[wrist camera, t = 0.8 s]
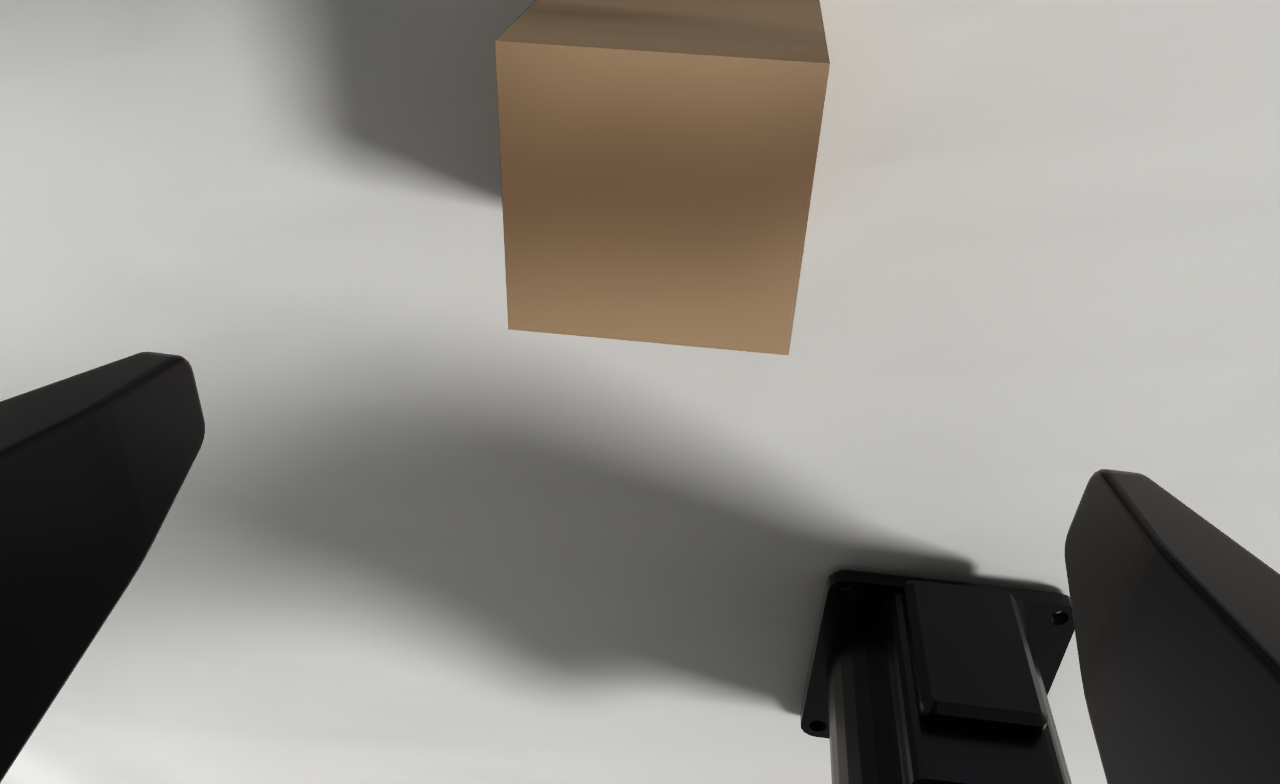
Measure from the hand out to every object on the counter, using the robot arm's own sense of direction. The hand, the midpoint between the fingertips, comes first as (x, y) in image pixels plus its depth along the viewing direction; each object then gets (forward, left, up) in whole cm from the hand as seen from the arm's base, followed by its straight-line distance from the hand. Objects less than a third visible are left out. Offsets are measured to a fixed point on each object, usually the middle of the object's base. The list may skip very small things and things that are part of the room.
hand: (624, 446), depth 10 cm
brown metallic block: (0, +1, -12) cm, 12 cm away
